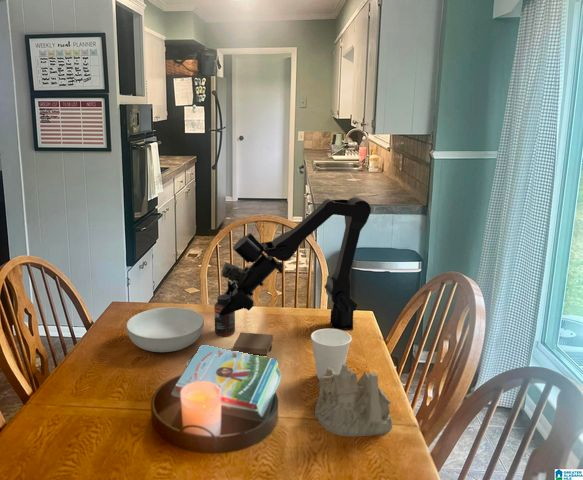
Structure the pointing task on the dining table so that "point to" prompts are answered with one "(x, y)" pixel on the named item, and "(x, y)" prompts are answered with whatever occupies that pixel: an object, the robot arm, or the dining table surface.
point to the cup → (330, 349)
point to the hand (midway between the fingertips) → (219, 310)
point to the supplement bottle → (223, 317)
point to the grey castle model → (352, 404)
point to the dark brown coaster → (253, 343)
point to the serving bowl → (165, 328)
